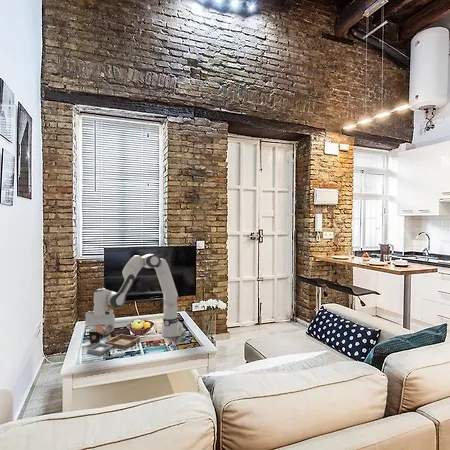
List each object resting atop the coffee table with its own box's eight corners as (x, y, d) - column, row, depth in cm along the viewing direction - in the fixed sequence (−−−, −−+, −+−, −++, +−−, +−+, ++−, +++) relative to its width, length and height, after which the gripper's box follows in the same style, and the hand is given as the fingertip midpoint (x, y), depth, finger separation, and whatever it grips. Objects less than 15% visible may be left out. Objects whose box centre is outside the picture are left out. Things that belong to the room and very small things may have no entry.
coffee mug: (103, 341, 251) (103, 328, 251) (96, 345, 242) (96, 332, 242) (90, 339, 254) (90, 327, 254) (83, 343, 246) (82, 330, 245)
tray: (99, 346, 241) (99, 342, 241) (113, 348, 237) (113, 345, 237) (87, 352, 229) (87, 348, 229) (101, 355, 225) (101, 351, 225)
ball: (100, 331, 236) (100, 324, 236) (105, 332, 234) (105, 325, 234) (94, 333, 232) (94, 326, 231) (99, 334, 229) (100, 327, 229)
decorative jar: (107, 335, 264) (107, 313, 263) (93, 334, 266) (93, 312, 265) (114, 330, 276) (114, 309, 275) (101, 329, 277) (101, 308, 277)
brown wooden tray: (121, 338, 257) (121, 333, 257) (140, 341, 251) (140, 337, 250) (105, 346, 240) (105, 341, 240) (124, 350, 234) (124, 345, 234)
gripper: (83, 312, 229) (83, 332, 229) (113, 312, 230) (113, 331, 230) (86, 310, 235) (86, 329, 235) (115, 309, 236) (115, 328, 237)
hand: (100, 330), depth 233 cm, fingers closed on ball, 5 cm apart
